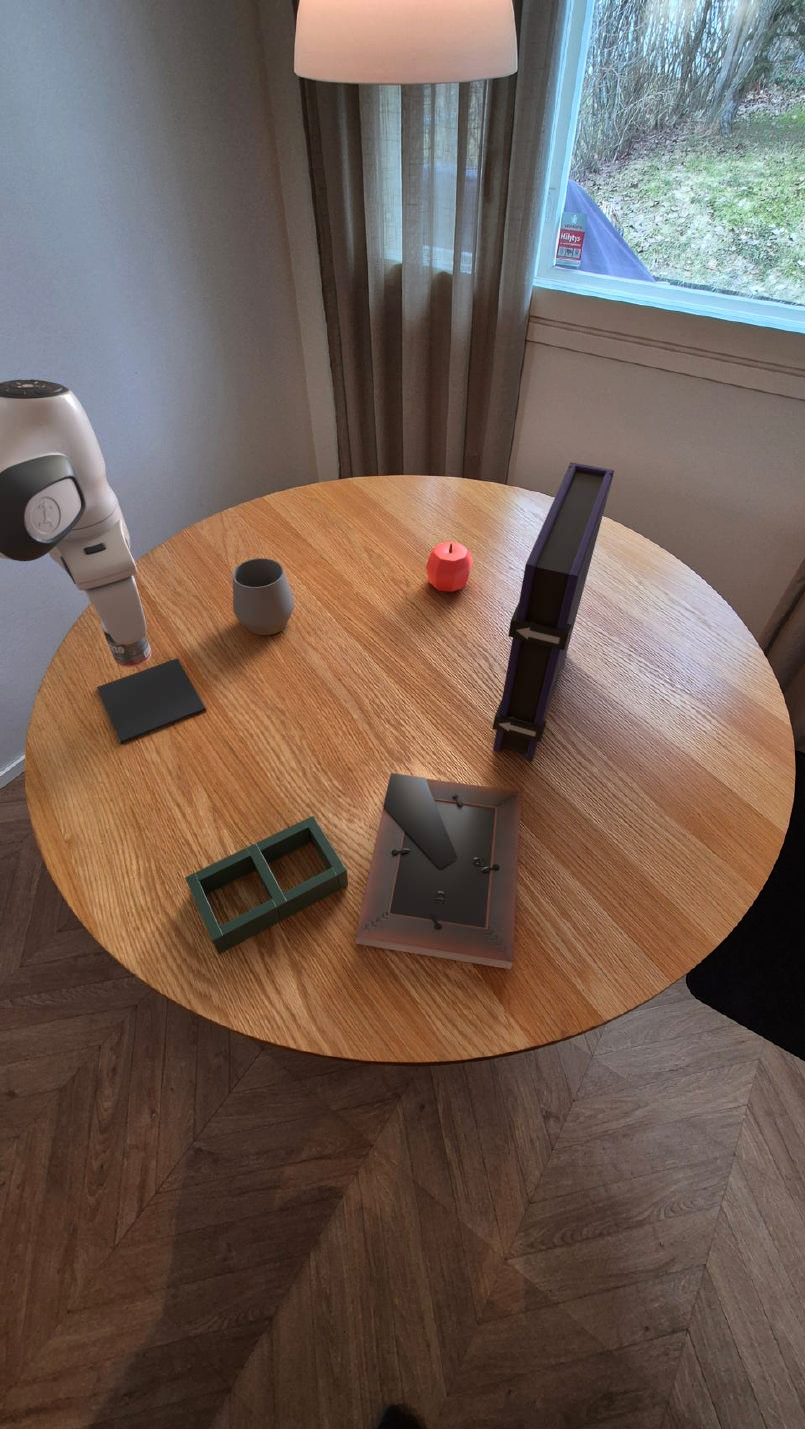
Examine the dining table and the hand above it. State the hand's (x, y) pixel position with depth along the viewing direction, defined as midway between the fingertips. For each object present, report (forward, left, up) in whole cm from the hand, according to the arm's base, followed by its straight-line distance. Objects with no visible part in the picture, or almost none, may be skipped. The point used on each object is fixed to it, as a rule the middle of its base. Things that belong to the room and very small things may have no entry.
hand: (122, 626), depth 84 cm
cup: (+21, +7, -14) cm, 26 cm away
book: (+47, -28, -14) cm, 56 cm away
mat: (0, 0, -14) cm, 14 cm away
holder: (+3, -36, -14) cm, 39 cm away
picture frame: (+21, -44, -14) cm, 51 cm away
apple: (+52, +1, -14) cm, 54 cm away
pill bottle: (0, 0, -5) cm, 5 cm away
